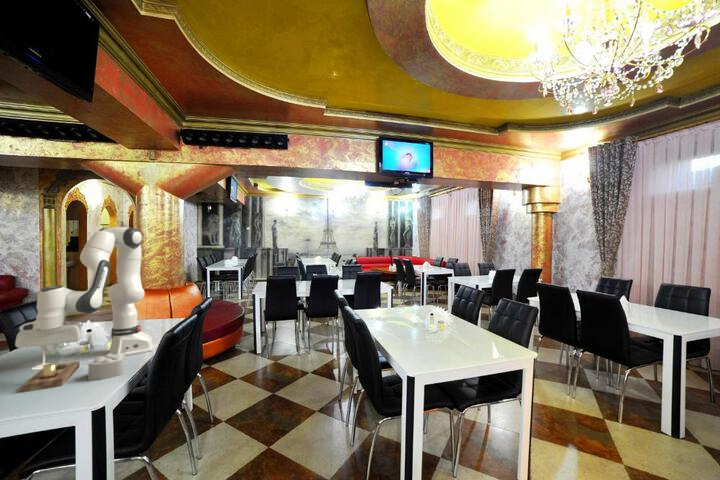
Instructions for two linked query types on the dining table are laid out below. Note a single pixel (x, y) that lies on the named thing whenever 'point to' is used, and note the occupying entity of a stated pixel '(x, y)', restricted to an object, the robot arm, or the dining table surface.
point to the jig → (62, 376)
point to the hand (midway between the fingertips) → (49, 354)
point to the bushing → (49, 371)
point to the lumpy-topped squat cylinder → (106, 367)
